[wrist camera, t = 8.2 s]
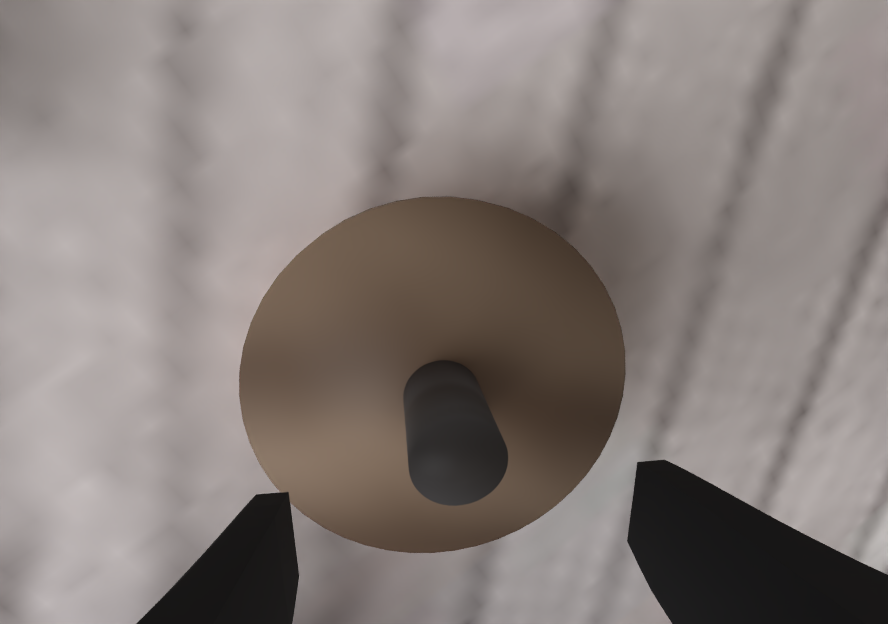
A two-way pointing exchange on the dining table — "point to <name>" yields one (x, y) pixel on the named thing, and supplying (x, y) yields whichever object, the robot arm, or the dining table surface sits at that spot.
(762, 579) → the robot arm
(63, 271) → the dining table surface
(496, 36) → the dining table surface
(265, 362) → the lid
